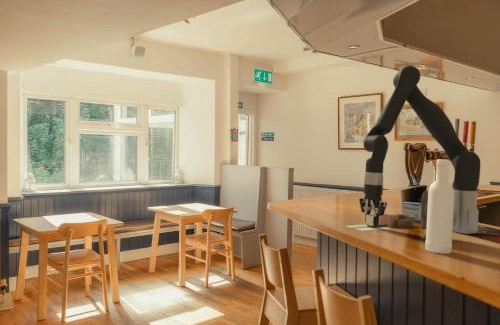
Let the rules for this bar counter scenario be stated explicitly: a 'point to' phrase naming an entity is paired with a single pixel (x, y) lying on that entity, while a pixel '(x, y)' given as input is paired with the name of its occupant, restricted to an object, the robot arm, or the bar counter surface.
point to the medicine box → (412, 210)
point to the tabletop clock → (424, 211)
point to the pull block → (382, 220)
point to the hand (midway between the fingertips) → (371, 224)
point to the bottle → (440, 211)
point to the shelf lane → (400, 223)
